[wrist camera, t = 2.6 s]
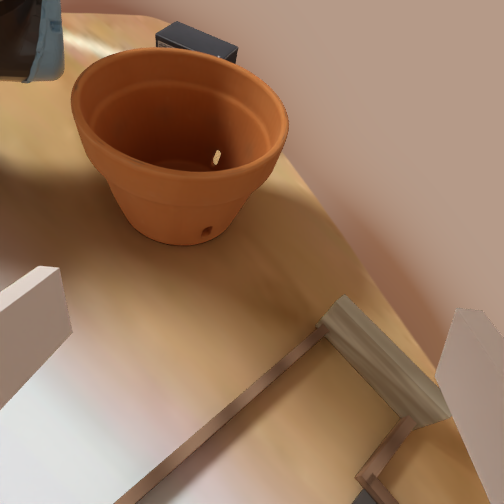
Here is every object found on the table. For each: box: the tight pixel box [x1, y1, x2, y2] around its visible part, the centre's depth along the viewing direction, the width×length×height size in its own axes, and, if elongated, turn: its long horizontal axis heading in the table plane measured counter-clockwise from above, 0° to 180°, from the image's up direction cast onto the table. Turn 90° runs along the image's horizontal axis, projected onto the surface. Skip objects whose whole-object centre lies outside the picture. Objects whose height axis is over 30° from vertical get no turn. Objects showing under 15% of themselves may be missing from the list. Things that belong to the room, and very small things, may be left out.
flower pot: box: [71, 47, 289, 245], centre depth 42 cm, size 21×21×15 cm
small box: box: [155, 21, 238, 64], centre depth 57 cm, size 11×6×10 cm, turn 67°
